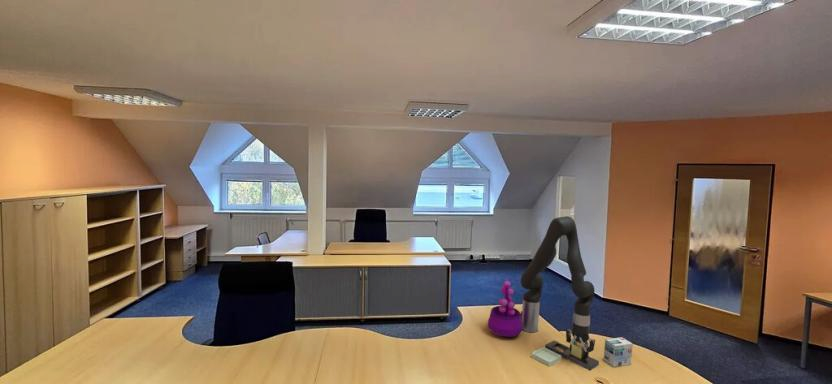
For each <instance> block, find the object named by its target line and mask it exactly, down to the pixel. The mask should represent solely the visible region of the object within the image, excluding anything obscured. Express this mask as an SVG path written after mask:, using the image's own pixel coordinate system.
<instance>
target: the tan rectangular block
mask: <svg viewBox="0 0 832 384" xmlns="http://www.w3.org/2000/svg"><path fill="white" fill-rule="evenodd" d="M584 351H585V350H584V347H583V346H582V344H581V343H579V342H575V343H573V344H572V351H571V356H572V357H574V358H576V359H578V360H580V361H583V360H584Z"/></svg>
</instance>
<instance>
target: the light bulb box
mask: <svg viewBox="0 0 832 384" xmlns="http://www.w3.org/2000/svg"><path fill="white" fill-rule="evenodd" d="M633 346H634V344H633V343H632V342H631V341H629V340H627V339H626V338H624V337H622V336H621V337H614V338H606V339H605V340H604V351H603V361H604V362H605V363H606V364H608V365H610V366H611V367H612V368H617V367H625V366H631V364H632V356H633V355H632V353H633Z"/></svg>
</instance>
